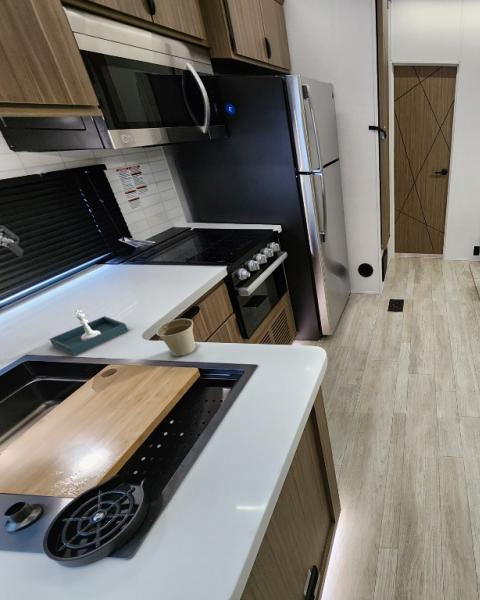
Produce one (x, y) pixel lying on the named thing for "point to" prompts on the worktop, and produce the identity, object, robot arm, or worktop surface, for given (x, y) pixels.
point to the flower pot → (178, 336)
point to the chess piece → (86, 327)
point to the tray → (76, 345)
